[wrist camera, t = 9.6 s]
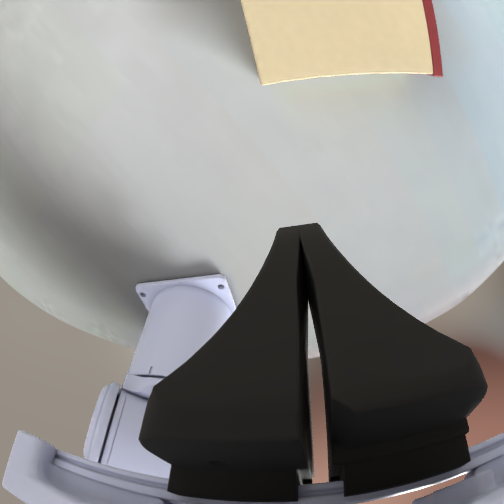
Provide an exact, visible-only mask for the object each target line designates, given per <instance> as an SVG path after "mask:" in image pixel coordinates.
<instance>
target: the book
mask: <svg viewBox="0 0 504 504" xmlns="http://www.w3.org/2000/svg"><path fill="white" fill-rule="evenodd" d="M240 1H241V5H242V9H243V13H244V17H245V21H246V25H247V29H248V33H249V37H250V41H251V45H252V50H253V54H254V58H255V62H256V67H257V71H258V75H259V80H260V84H261V85H267V84H273V83H280V82H286V81H293V80H301V79H309V78H318V77H328V76H340V75H355V74H380V73H412V74H427V75H431V76H437V77H442V76H443V74H442V63H441V54H440V46H439V38H438V32H437V26H436V20H435V15H434V9H433V5H432V0H240Z"/></svg>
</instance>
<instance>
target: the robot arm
mask: <svg viewBox="0 0 504 504" xmlns="http://www.w3.org/2000/svg"><path fill="white" fill-rule="evenodd" d="M219 284H222V285H223V286H220V285H219ZM135 289H136V292H137V293H138V295H139V297H140V298H141V300H142V302H143V303H144V305H145V307H146V308H147V310H148V312H149V314H148V317H147V319H146V322H145V325H144V328H143V330H142V333H141V336H140V339H139V342H138V344H137V347H136V350H135V353H134V356H133V359H132V362H131V365H130V368H129V371H128V373H127V375H126V377H125V380H124V383H123V386H122V388H121V389H119V387H120V384H118V383H115V382H112V383H111V385H110V384H109V385H106V386H104V387H103V388H102V391H101V393H100V395H99V398H98V401H97V404H96V407H95V409H94V413H93V416H92V419H91V422H90V426H89V430H88V433H87V437H86V441H85V446H84V451H83V455H84V458H81V457H78V456H75V455H72V454H69V453H66V452H64V451H61V450H58V449H56V448H55V447H54V446H52V445H51V444H49V443H48V442H46V441H44V440H42V439H41V438H38V437H37V436H34V435H32V434H29V433H27V432H25V431H22V430H18V433H17V436H16V439H15V442H14V445H13V448H12V451H11V454H10V458H9V460H8V464H7V467H6V471H5V474H4V478H3V482H2V486H3V487H4V488H5V489H7V490H8V491H9V492H10V493H12V494H13V495H15V496H16V497H18V498H19V499H20V500H22V501H23V502H24V503H26V504H357V503H362V502H369V501H374V500H378V499H383V498H388V497H392V496H396V495H400V494H405V493H408V492H412V491H416V490H419V489H422V488H426V487H429V486H432V485H435V484H438V483H441V482H444V481H447V480H449V479H452V478H455V477H458V476H460V475H463V474H465V473H468V472H469V473H468V474H467V475H466V476H465V479H464V480H463V481H461V482H458V483H456V484H453V485H451V486H448V487H445V488H443V489H440V490H437V491H435V492H433V493H431V494H429V495H427V496H424V497H421V498H418V499H415V500H414V501H413V502H412V504H504V433H501V434H499V435H497V436H495V437H493V438H491V439H488V440H486V441H484V442H482V443H479V444H477V445H474V446H472V447H469V448H468V445H467V440H466V436H465V434H467V433H468V432H469V426H468V423H467V419H466V417H467V416H468V415H469V414H470V413H471V412H472V411H473V410H474V409H475V408H476V407H477V405H478V404H479V403H480V402H481V401H482V399H483V398H484V396H485V394H486V392H487V387H488V386H487V383H486V380H485V377H484V375H483V372H482V370H481V367H480V365H479V363H478V361H477V360H476V357H475V356H474V354H473V352H472V350H471V349H470V348H469V347H467V346H465V345H463V344H461V343H459V342H457V341H455V340H453V339H451V338H449V337H448V336H446V335H443V334H441V333H439V332H438V331H436V330H434V329H433V328H431V327H429V326H428V325H426V324H424V323H423V322H421V321H419V320H418V319H416V318H415V317H413V316H412V315H410V314H409V313H407V312H406V311H405V310H403V309H402V308H400V307H399V306H397V305H396V304H394V303H393V302H392V301H391V300H389V299H388V298H387V297H386V296H384V295H383V294H382V293H381V292H380V291H378V290H377V289H376V288H375V287H374V286H372V285H371V284H370V283H369V282H368V281H367V280H366V279H365V278H364V277H363V276H362V275H361V274H360V273H359V272H358V271H357V270H356V269H355V268H354V267H353V266H352V265H351V264H350V263H349V262H348V261H347V260H346V259H345V257H344V256H343V255H342V254H341V253H340V252H339V251H338V249H337V248H336V247H335V246H334V244H333V243H332V242H331V241H330V239H329V238H328V237H327V235H326V234H325V232H324V231H323V229H322V228H321V226H320V225H319V224H318V223H312V224H305V225H298V226H291V227H284V228H279V230H278V231H277V233H276V236H275V239H274V242H273V245H272V247H271V250H270V252H269V254H268V256H267V258H266V260H265V262H264V264H263V267H262V269H261V270H260V272H259V274H258V276H257V277H256V279H255V281H254V283H253V284H252V286H251V288H250V289H249V291H248V292H247V294H246V295H245V297H244V298H243V300H242V301H241V303H240V304H239V305H238V307H237V308H236V305H235V302H234V299H233V296H232V294H231V291H230V288H229V285H228V282H227V280H226V277H225V276H224V275H221V274H215V275H207V276H199V277H191V278H182V279H174V280H165V281H157V282H148V283H139V284H137V286H136V288H135ZM144 293H145V294H144ZM308 301H309V306H310V310H311V315H312V319H313V324H314V329H315V333H316V338H317V343H318V348H319V353H320V359H321V364H322V376H323V387H324V399H325V412H326V428H327V443H328V444H327V446H328V468H329V482H326V483H317V484H312V478H313V477H314V462H313V440H312V421H311V404H310V389H309V375H308Z"/></svg>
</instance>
